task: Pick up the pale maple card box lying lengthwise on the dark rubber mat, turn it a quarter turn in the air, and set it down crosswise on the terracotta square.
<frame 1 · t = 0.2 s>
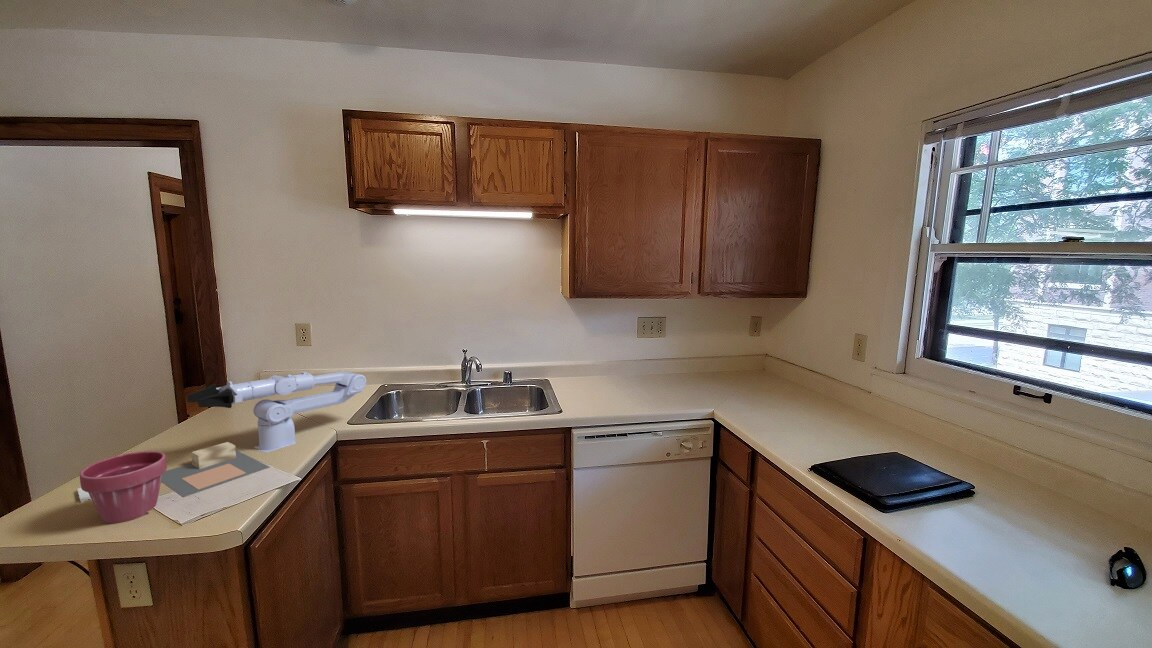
hand: (193, 401, 122), 21 cm above the worktop, tool horizontal, fingers open, 7 cm apart
card box: (214, 461, 129), point 1 cm above the worktop, touching mat
mat: (212, 472, 123), on the worktop
plant pot: (130, 513, 103), on the worktop
external hard drive: (114, 490, 114), on the worktop
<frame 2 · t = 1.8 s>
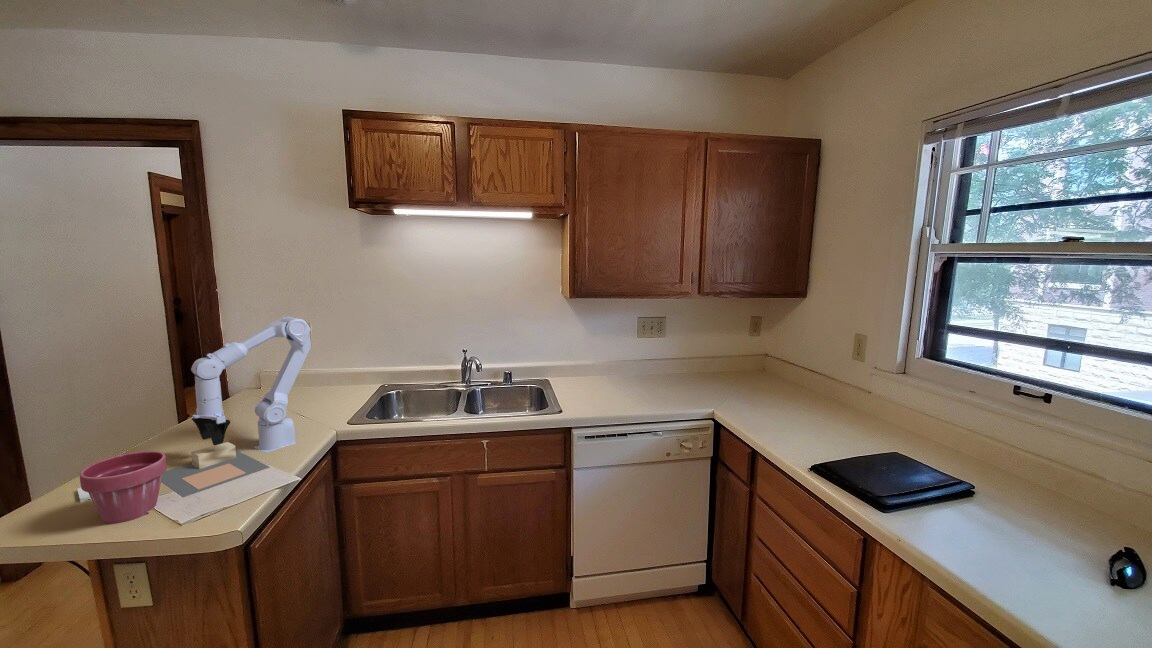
hand: (212, 441, 128), 7 cm above the worktop, tool pointing down, fingers open, 7 cm apart
nothing on the worktop moved.
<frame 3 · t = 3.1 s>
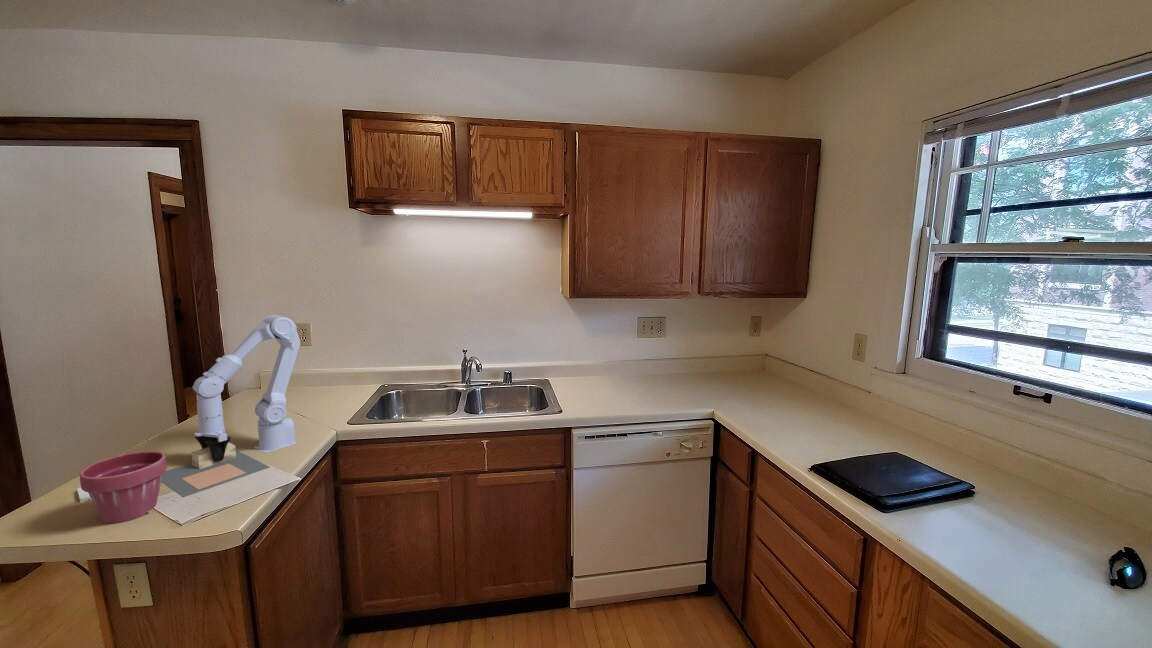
hand: (214, 458, 129), 1 cm above the worktop, tool pointing down, fingers closed on card box, 5 cm apart
card box: (214, 461, 129), point 1 cm above the worktop, touching gripper, mat
everything else where it was.
when the fingers open (3 cm above the worktop, at t = 7.3 s): card box stays where it is, resting on mat.
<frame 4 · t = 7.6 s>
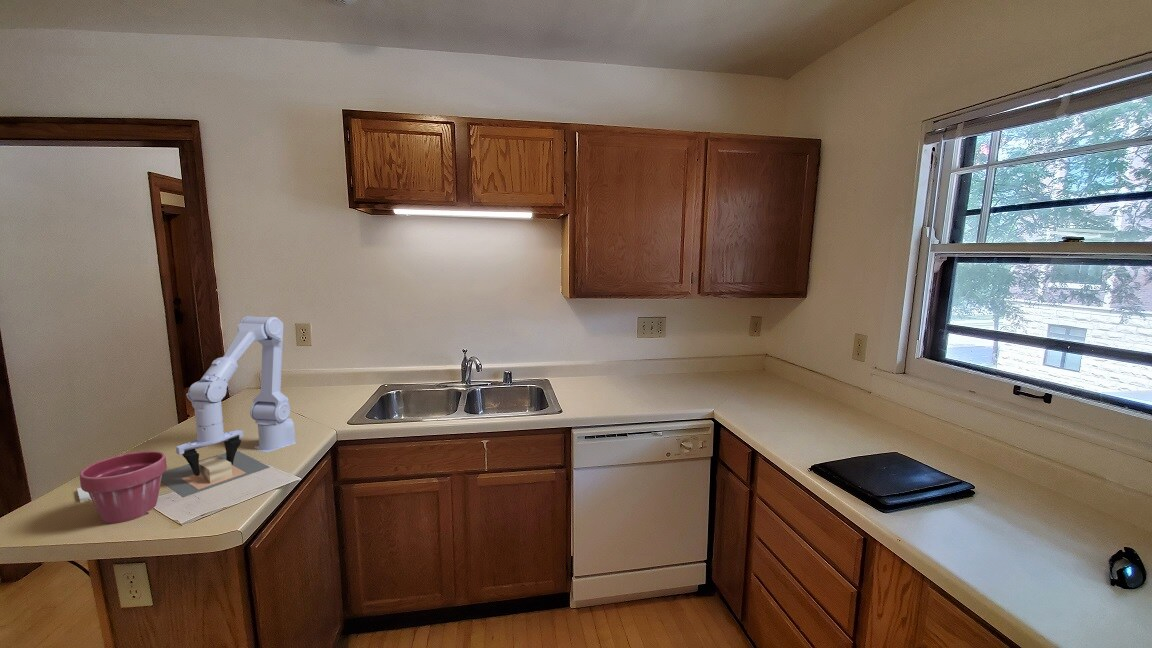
hand: (213, 469, 120), 3 cm above the worktop, tool pointing down, fingers open, 7 cm apart
card box: (214, 475, 120), point 1 cm above the worktop, touching mat
everything else where it was.
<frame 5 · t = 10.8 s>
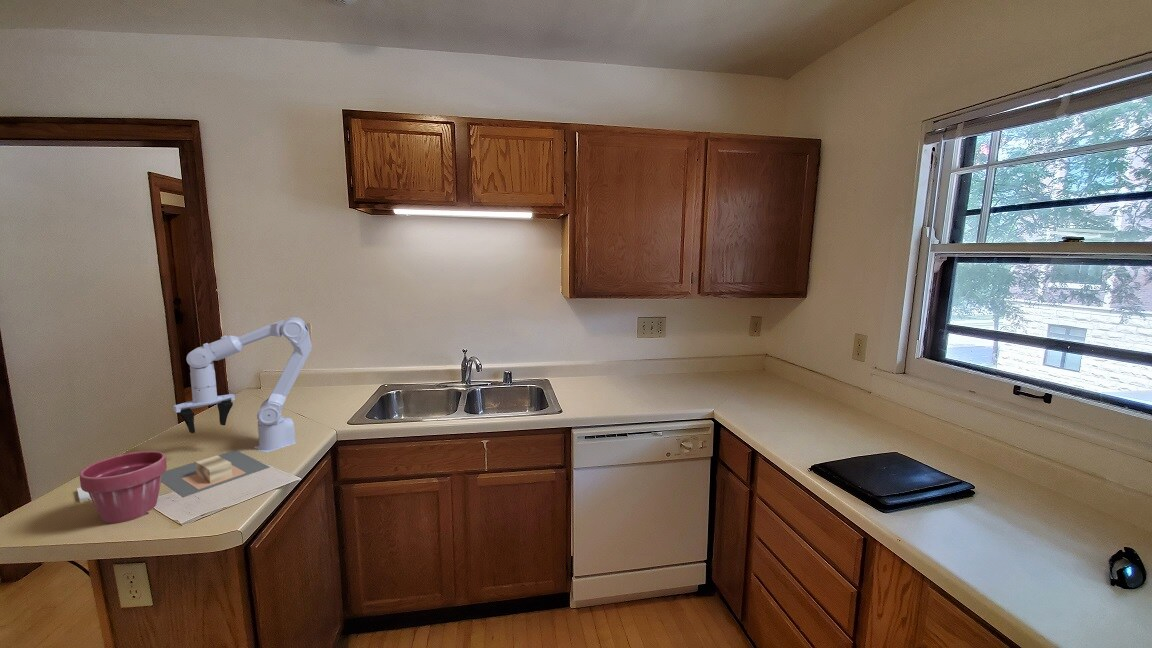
hand: (207, 428, 132), 9 cm above the worktop, tool pointing down, fingers open, 7 cm apart
nothing on the worktop moved.
at the end: card box inside the target area on the mat (0.0 cm from its centre), point 0.7 cm above the mat's base; card box tilted 0°; the gripper is holding nothing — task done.
